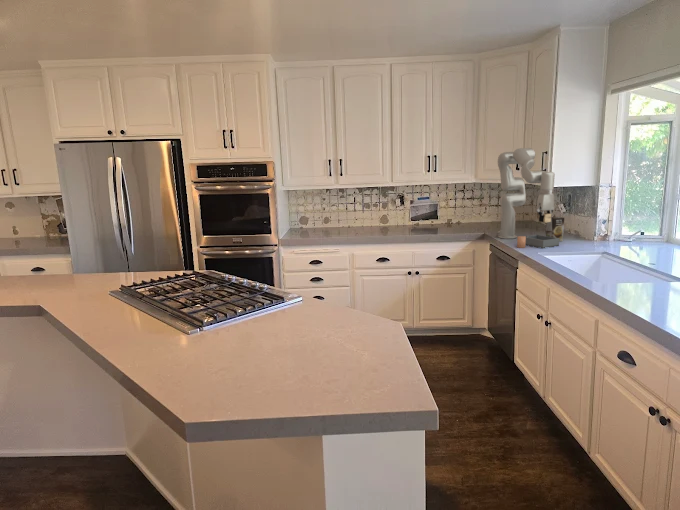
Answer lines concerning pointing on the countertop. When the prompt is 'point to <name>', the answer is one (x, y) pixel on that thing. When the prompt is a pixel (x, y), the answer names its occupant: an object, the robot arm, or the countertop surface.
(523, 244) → the terracotta cylinder
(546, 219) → the maple cube
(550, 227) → the coffee box
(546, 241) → the tote
